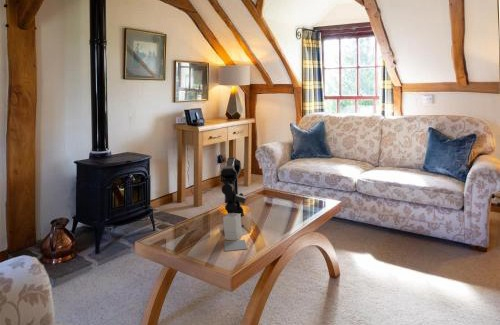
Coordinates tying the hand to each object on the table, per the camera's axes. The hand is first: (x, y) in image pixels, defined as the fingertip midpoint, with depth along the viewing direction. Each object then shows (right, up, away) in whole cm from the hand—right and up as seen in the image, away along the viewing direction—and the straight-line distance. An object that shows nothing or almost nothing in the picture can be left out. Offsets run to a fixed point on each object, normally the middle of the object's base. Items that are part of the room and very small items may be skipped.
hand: (231, 218), depth 221 cm
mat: (+3, -11, -17) cm, 20 cm away
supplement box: (+1, -10, -4) cm, 11 cm away
